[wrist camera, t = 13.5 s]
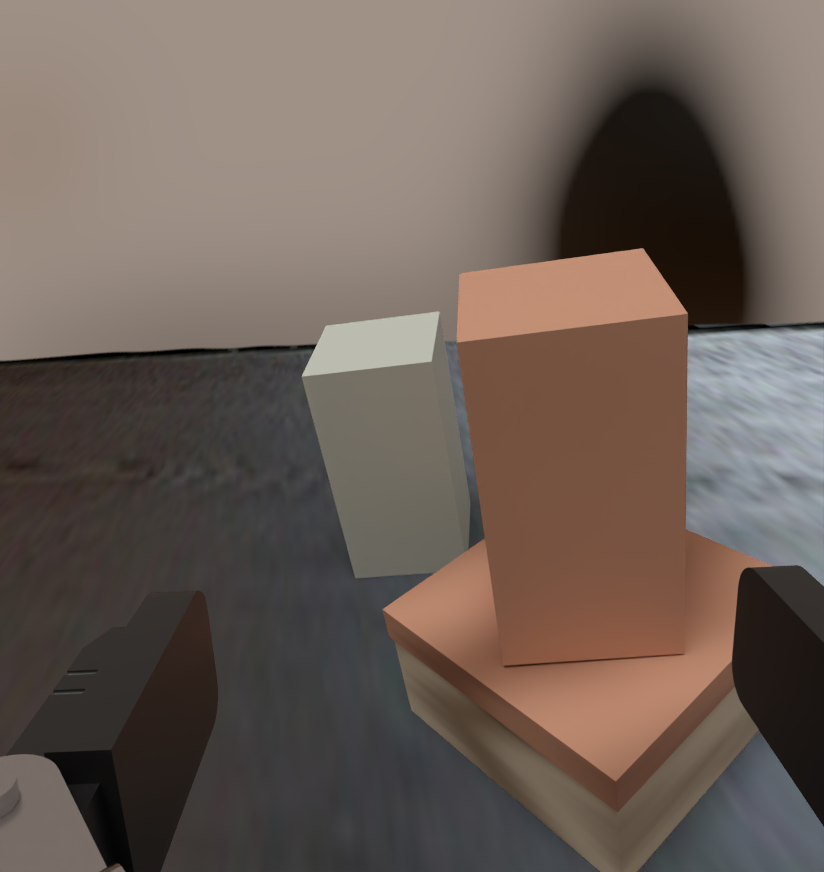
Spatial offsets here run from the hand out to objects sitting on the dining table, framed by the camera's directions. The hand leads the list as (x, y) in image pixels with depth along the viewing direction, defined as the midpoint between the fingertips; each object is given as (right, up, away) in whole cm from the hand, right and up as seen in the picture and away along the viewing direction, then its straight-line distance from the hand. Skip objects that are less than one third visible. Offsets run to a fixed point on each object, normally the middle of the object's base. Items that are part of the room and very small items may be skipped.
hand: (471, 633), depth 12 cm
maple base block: (+5, -6, +15) cm, 17 cm away
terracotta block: (+4, -2, +12) cm, 13 cm away
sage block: (-1, -2, +24) cm, 24 cm away
